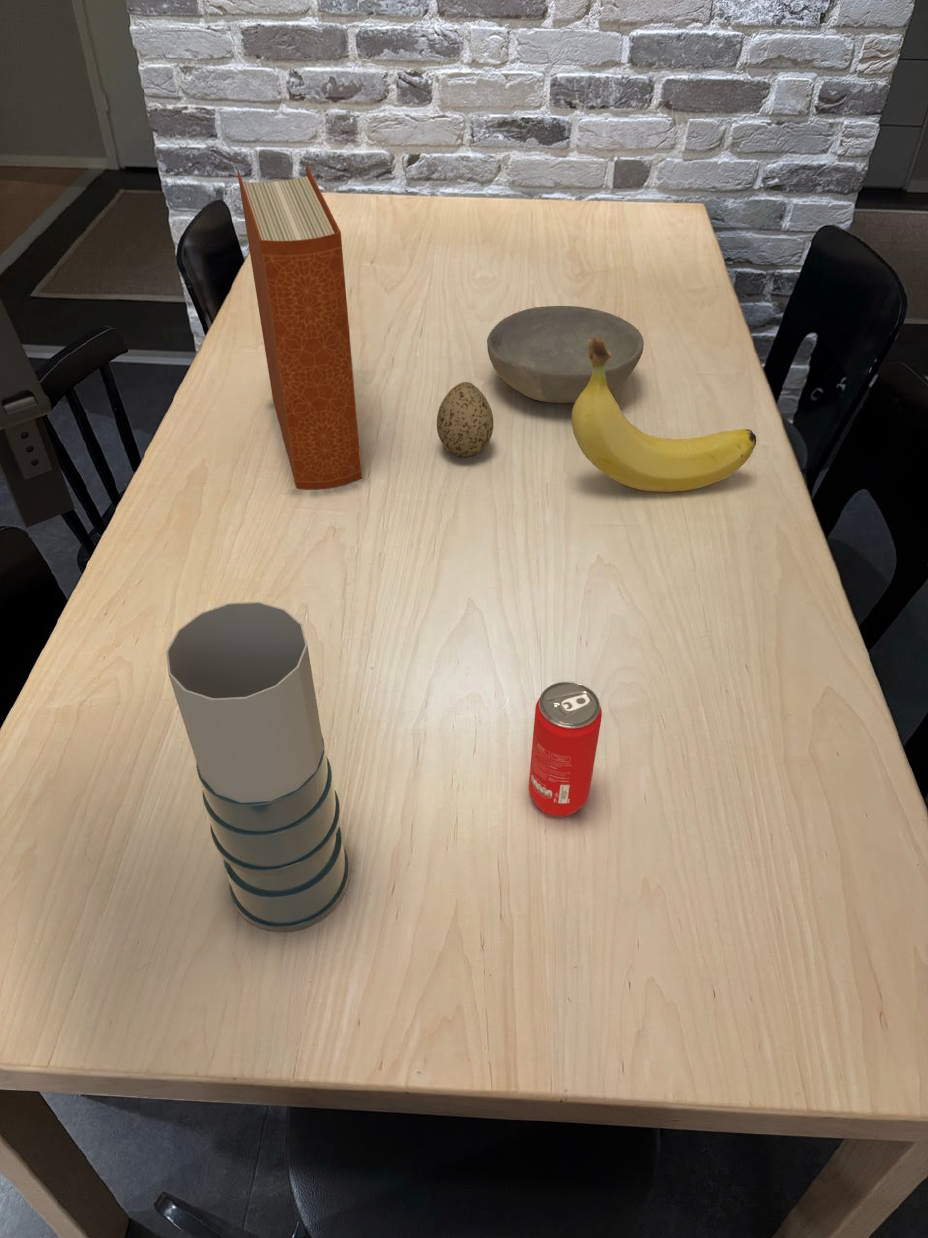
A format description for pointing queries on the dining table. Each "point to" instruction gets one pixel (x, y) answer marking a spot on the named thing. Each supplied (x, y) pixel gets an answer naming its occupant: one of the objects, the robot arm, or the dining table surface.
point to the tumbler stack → (282, 852)
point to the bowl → (561, 350)
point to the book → (304, 327)
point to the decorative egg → (465, 420)
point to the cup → (247, 700)
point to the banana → (649, 442)
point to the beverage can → (564, 747)
